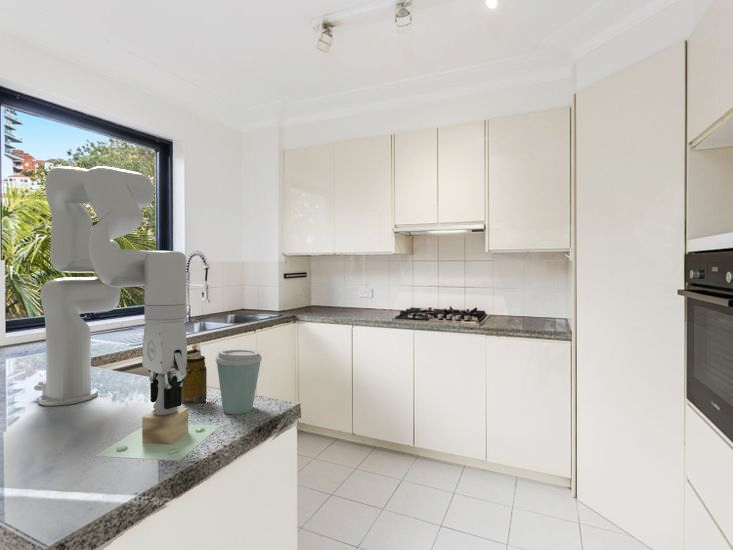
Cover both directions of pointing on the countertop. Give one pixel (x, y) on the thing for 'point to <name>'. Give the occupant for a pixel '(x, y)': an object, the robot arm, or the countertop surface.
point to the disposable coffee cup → (238, 379)
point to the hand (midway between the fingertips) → (165, 403)
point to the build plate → (159, 445)
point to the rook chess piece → (162, 398)
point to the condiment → (195, 382)
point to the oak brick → (165, 427)
